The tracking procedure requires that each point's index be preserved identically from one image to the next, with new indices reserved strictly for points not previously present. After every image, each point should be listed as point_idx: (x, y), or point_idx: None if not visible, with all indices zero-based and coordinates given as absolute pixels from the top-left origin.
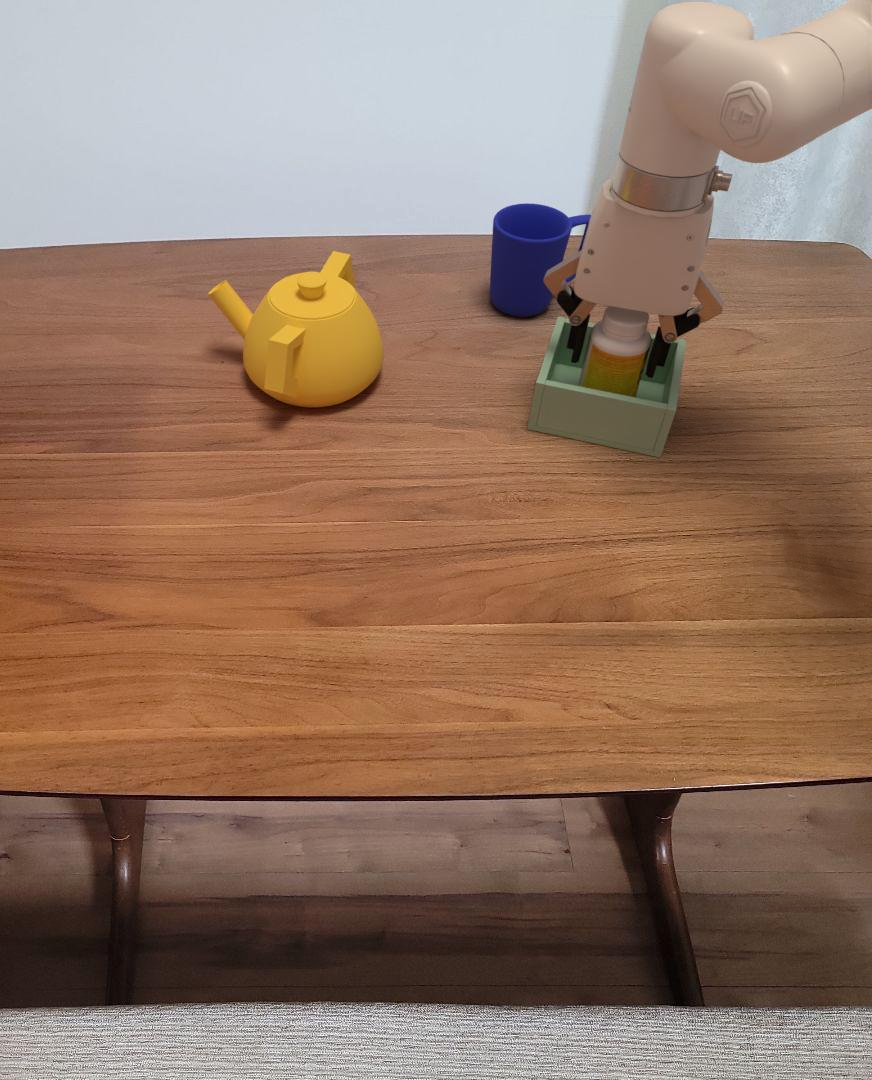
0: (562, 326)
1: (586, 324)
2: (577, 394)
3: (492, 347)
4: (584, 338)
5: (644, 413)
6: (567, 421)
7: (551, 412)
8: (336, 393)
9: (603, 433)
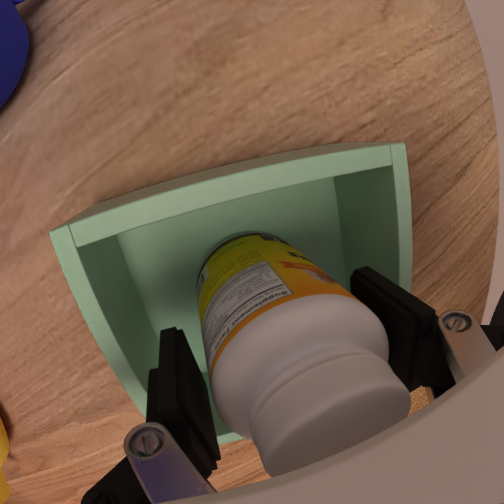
0: (84, 275)
1: (209, 448)
2: None
3: (2, 228)
4: (196, 386)
5: None
6: None
7: None
8: (7, 454)
9: None
